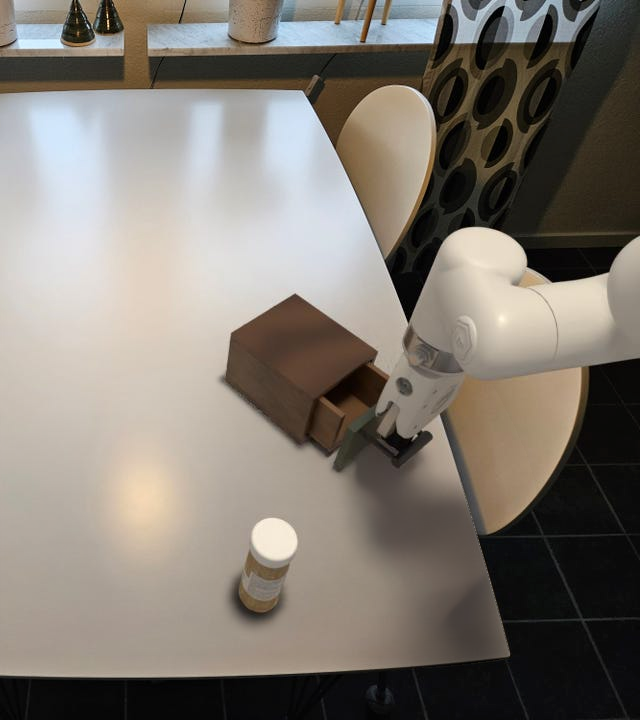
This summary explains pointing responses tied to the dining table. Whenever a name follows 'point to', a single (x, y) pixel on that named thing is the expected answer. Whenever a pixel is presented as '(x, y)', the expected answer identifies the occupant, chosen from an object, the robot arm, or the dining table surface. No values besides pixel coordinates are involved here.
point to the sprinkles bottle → (267, 563)
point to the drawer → (357, 418)
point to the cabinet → (292, 361)
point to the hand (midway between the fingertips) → (394, 442)
